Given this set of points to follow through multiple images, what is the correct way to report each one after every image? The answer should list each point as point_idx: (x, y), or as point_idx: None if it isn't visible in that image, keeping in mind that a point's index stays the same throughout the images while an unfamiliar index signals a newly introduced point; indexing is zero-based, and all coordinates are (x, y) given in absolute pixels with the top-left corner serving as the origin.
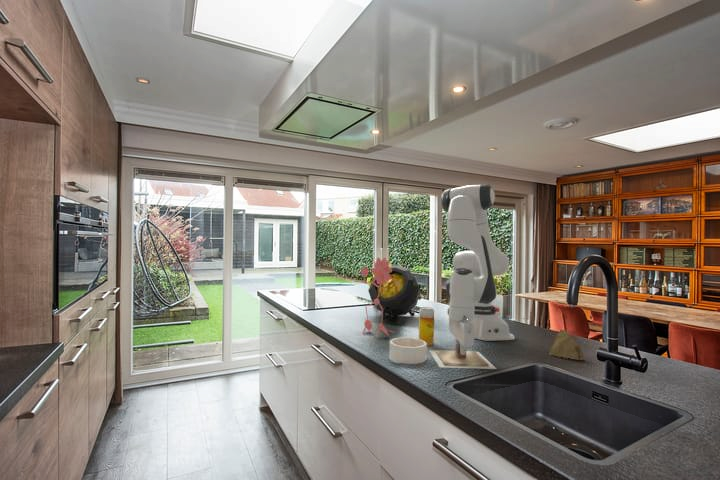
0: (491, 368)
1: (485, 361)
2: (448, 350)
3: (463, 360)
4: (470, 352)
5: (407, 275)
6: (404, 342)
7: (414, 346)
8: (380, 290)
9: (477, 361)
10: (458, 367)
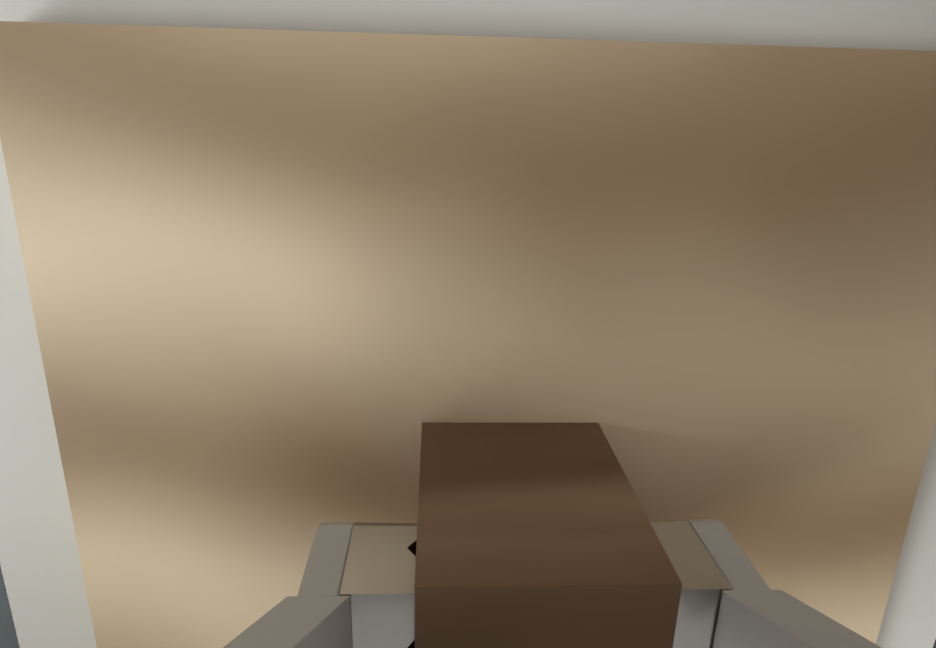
0: None
1: (845, 54)
2: (93, 625)
3: (737, 502)
4: (146, 197)
5: None
6: None
7: None
8: None
9: (822, 247)
10: (932, 603)
